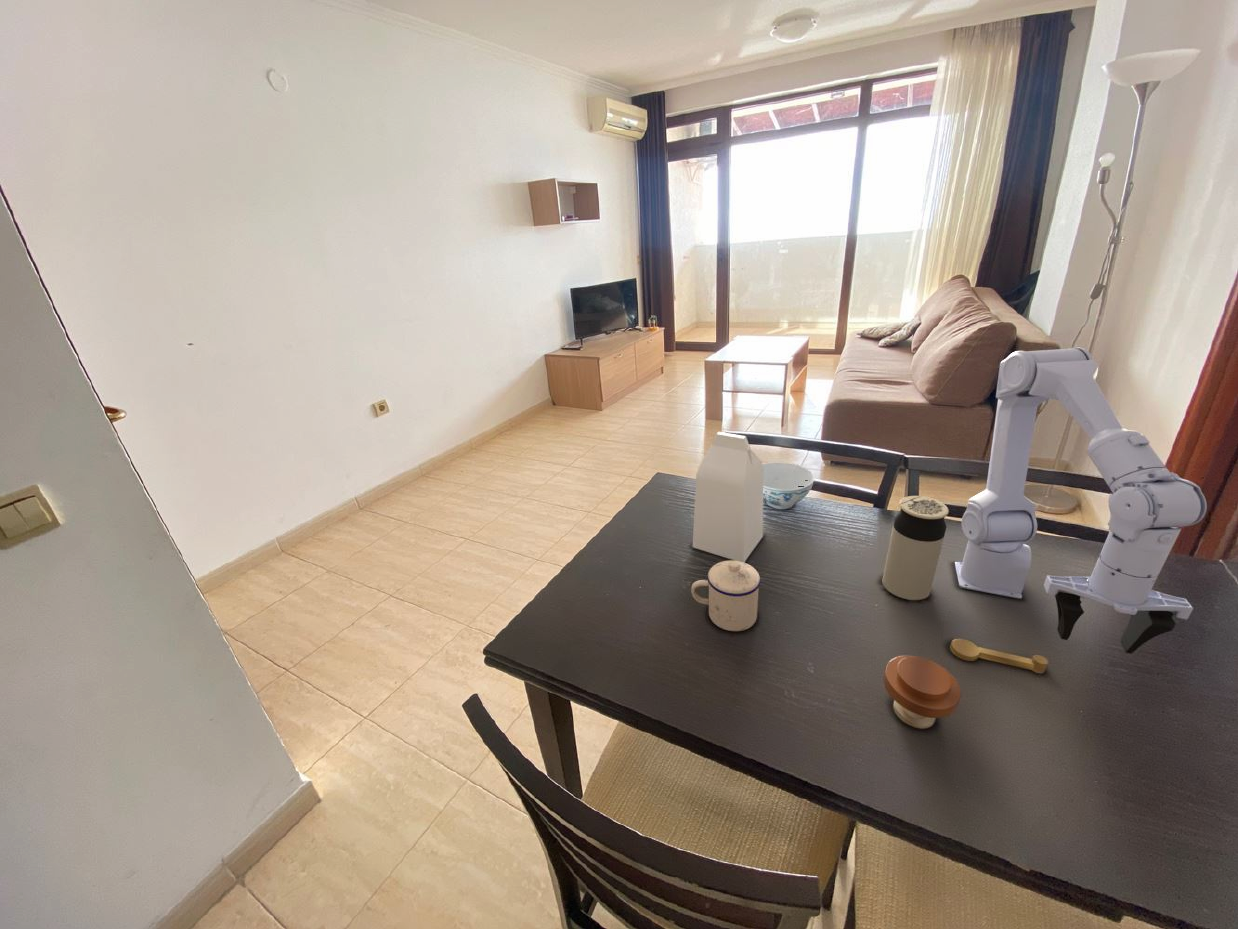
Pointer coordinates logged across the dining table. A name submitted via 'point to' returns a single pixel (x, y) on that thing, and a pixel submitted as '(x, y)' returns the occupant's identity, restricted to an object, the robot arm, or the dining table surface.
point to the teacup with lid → (731, 595)
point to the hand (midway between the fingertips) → (1093, 641)
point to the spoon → (996, 656)
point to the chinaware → (785, 484)
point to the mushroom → (921, 690)
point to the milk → (729, 499)
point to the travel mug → (915, 547)
